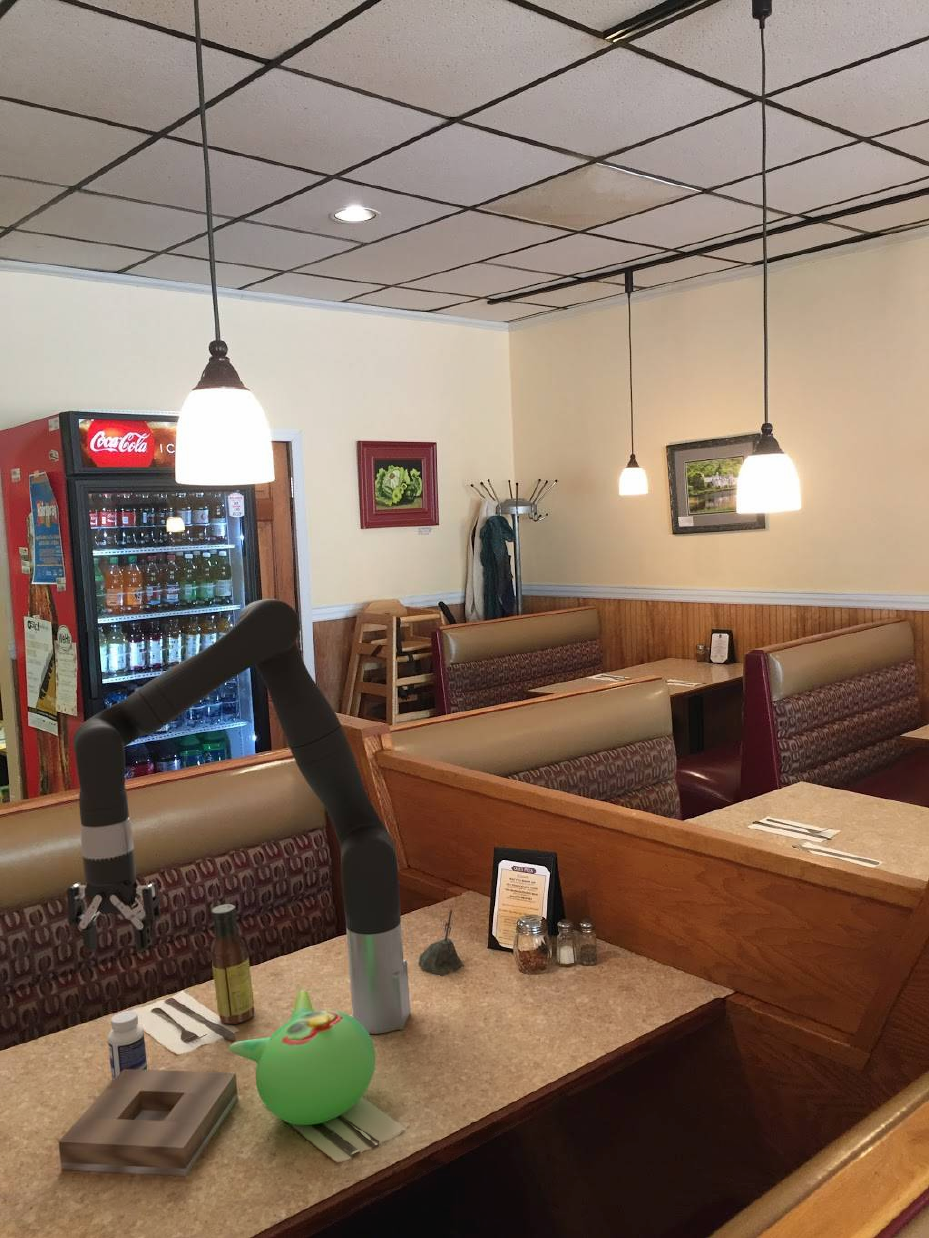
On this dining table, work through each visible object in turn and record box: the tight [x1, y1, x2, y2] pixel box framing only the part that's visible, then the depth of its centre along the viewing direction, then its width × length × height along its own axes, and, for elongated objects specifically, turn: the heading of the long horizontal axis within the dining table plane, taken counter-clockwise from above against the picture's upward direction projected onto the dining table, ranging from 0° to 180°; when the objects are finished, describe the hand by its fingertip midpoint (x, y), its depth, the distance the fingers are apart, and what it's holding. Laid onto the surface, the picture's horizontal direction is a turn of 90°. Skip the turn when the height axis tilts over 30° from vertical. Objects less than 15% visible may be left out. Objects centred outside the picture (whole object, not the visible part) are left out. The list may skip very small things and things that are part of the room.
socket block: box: [58, 1069, 239, 1177], centre depth 145 cm, size 18×18×4 cm
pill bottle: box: [107, 1010, 148, 1082], centre depth 161 cm, size 5×5×10 cm
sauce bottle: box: [210, 903, 255, 1025], centre depth 177 cm, size 7×6×20 cm
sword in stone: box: [418, 909, 465, 977], centre depth 194 cm, size 10×8×12 cm
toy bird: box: [229, 989, 376, 1126], centre depth 148 cm, size 18×17×15 cm
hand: (117, 949), depth 159 cm, fingers open, 8 cm apart
